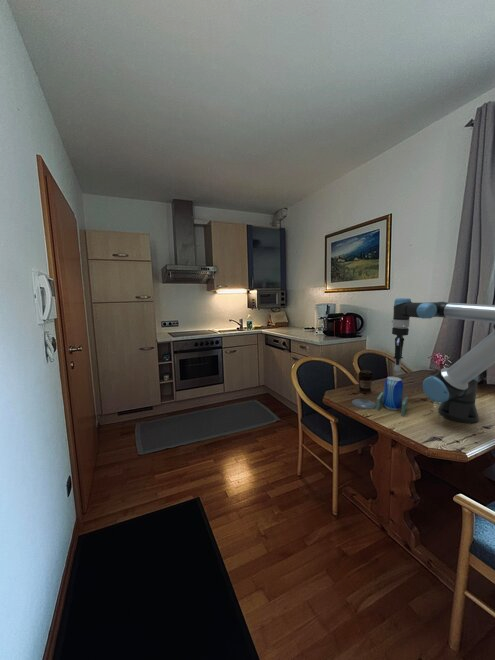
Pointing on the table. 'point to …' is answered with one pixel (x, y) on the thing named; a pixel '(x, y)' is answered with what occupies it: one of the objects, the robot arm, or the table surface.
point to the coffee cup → (365, 381)
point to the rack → (381, 400)
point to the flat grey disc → (364, 404)
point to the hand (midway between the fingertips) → (397, 370)
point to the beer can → (393, 393)
